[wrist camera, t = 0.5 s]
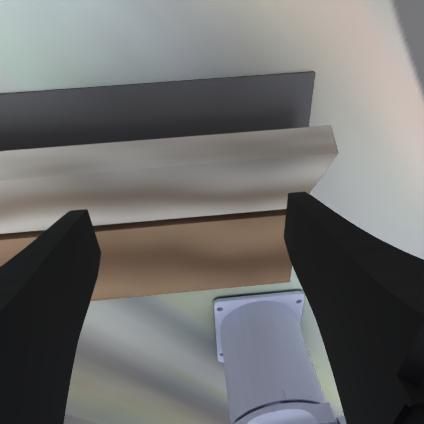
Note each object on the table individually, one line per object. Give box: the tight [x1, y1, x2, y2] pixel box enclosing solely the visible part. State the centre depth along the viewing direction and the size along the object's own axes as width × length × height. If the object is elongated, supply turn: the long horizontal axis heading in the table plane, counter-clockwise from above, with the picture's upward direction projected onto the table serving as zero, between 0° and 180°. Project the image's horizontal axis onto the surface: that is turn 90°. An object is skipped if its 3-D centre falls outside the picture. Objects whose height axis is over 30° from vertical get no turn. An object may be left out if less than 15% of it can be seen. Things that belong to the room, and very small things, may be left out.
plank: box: [0, 125, 338, 234], centre depth 18 cm, size 7×22×2 cm
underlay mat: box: [0, 71, 315, 151], centre depth 22 cm, size 15×23×1 cm, turn 93°
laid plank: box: [0, 209, 292, 301], centre depth 24 cm, size 6×22×2 cm, turn 93°
